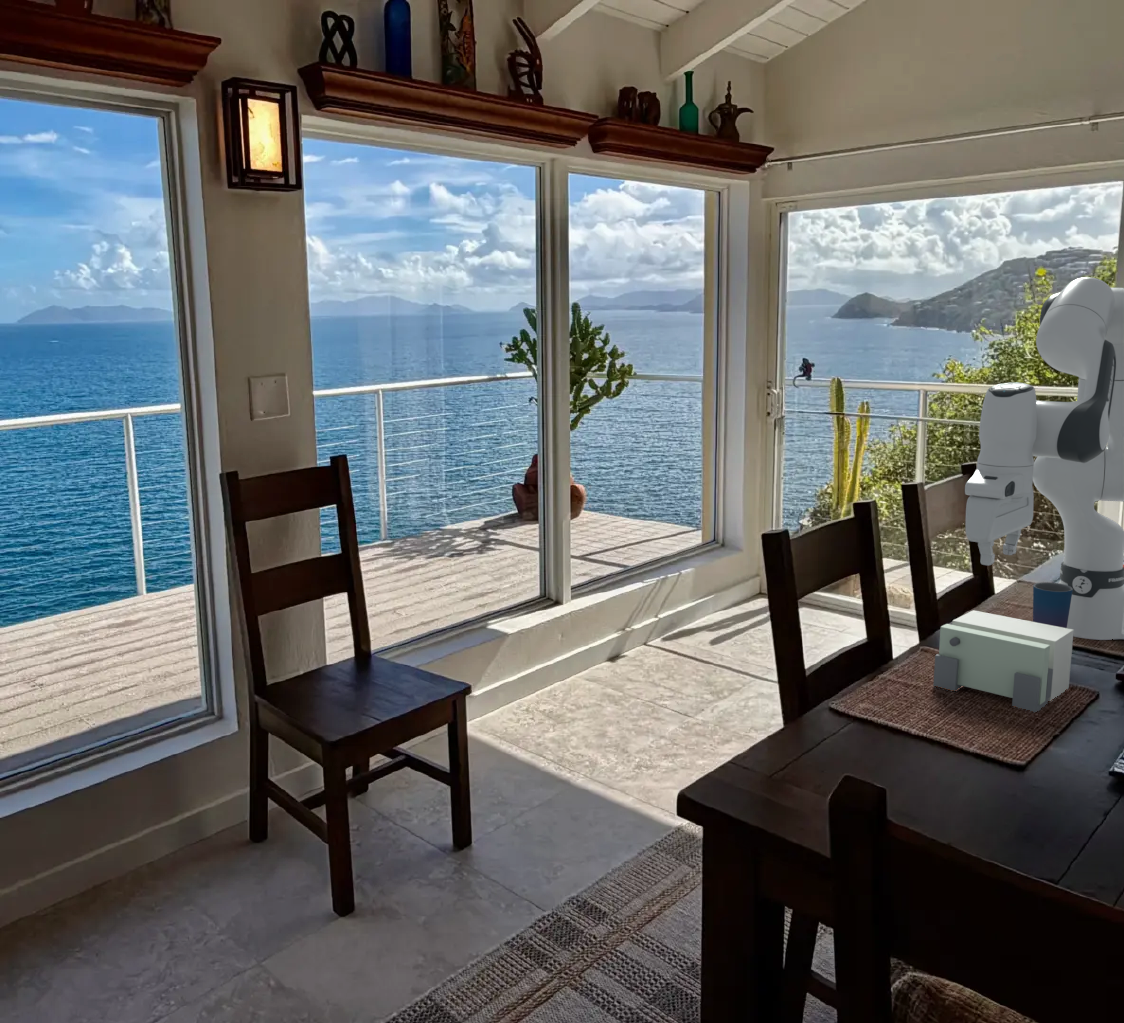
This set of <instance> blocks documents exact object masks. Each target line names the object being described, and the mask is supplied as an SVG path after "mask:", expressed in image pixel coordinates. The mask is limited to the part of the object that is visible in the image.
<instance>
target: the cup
mask: <svg viewBox="0 0 1124 1023" xmlns="http://www.w3.org/2000/svg"><path fill="white" fill-rule="evenodd" d="M1032 589H1033V591H1032V622H1037V623H1042V624H1047V625H1052V626H1057V627H1063V628H1067V623H1068V617H1069V610H1070V604H1071V597H1072V591H1073V588H1072V587H1070V586H1068V585H1064V584H1059V582H1048V581H1047V582H1044V581H1043V582H1036V583H1034V584H1033V586H1032Z"/></svg>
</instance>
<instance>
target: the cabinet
mask: <svg viewBox="0 0 1124 1023" xmlns="http://www.w3.org/2000/svg"><path fill="white" fill-rule="evenodd" d="M951 625H955V626H960V627H965V628H970V629H975V630H980V631H984V632H989V633H994V634H999V635H1004V636H1009V637H1013V638H1018V639H1023V640H1028V641H1033V642H1038V643H1043V644H1047V645H1050V652H1049V664H1048V676H1047V688H1046V700H1045V702H1043V703H1042V704H1040V705H1039V692H1040V680H1041V678H1039V677H1035V676H1031V675H1026V674H1022V673H1018V672H1016V673H1015V674H1014V687H1013V698H1012V701H1011V702H1012V703H1011V707H1012V706H1016V707H1018V708H1017V709H1019V708H1022V709H1021V710H1023V709H1026V710H1025V711H1027V710H1030V711H1029V712H1031V711H1033V712H1032V713H1035V712H1037V711H1038V712H1039V711H1041V710H1042V709H1043V708H1044V707H1046V706H1047V705H1048V701H1051V700H1052V699H1054V698H1055V697H1056V698H1058V697H1059V696H1061V695H1062V694H1064V692H1065V690H1066V689H1067V690H1068V689H1069V688H1070V678H1071V666H1072V665H1071V664H1072V653H1073V642H1074V641H1073V640H1074V636H1073V632H1074V630H1073V629H1068V628H1063V627H1057V626H1052V625H1047V624H1042V623H1037V622H1033V620H1032V621H1031V620H1026V619H1020V618H1015V617H1010V616H1005V615H1000V614H995V613H990V612H989V613H988V612H985V611H979V610H974V609H973V610H971V611H969V612H967V613H965V614H963V615H961V616H959V617H957V618H954V619H953V620H952V624H951ZM958 666H959V659H956V658H952V657H948V656H943V655H939V653H937V654H935V655H934V666H933V667H934V668H933V669H934V671H933V686H938V687H942V688H946V689H950V690H954V691H955V690H957V689H958V688H960V687H961V686H962V685H957V682H958ZM933 686H932V687H933ZM1067 690H1066V691H1067ZM1061 693H1062V694H1061ZM1057 696H1058V697H1057ZM1056 698H1055V699H1056ZM1055 699H1054V700H1055ZM1052 701H1053V700H1052ZM1052 701H1051V702H1052ZM1046 704H1047V705H1046ZM1045 705H1046V706H1045ZM1042 707H1043V708H1042ZM1041 708H1042V709H1041ZM1038 712H1037V713H1038Z"/></svg>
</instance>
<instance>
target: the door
mask: <svg viewBox="0 0 1124 1023" xmlns="http://www.w3.org/2000/svg"><path fill="white" fill-rule="evenodd" d="M939 630H940V631H939V645H938V646H939V648H938V654H939V655H943V656H948V657H952V658H956V659H959V666H958V682H957V685H962V686H964V687H965V688H971V689H974V690H979V691H982V692H987V693H990V694H994V695H997V696H998V695H999V696H1002V697H1003V696H1004V697H1007V698H1011V699H1013V687H1014V674H1015V673H1016V672H1018V673H1022V674H1026V675H1031V676H1035V677H1039V678H1041V680H1040V692H1039V705H1040V704H1042V703H1043V702H1045V700H1046V688H1047V676H1048V664H1049V652H1050V645H1047V644H1043V643H1038V642H1033V641H1028V640H1023V639H1018V638H1013V637H1009V636H1004V635H999V634H994V633H989V632H984V631H980V630H975V629H970V628H965V627H960V626H955V625H952V624H950V623H945V624H943V625H941V626H940V629H939Z"/></svg>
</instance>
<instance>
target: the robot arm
mask: <svg viewBox="0 0 1124 1023" xmlns="http://www.w3.org/2000/svg"><path fill="white" fill-rule="evenodd" d="M1035 344H1036V348H1037V352H1038V354H1039V355H1040V357H1041V359H1042V360H1043V361H1044V362H1045V363H1046V364H1047V365H1048V366H1050V367H1051V368H1053V369H1055V370H1056V371H1059V372H1061V373H1064V374H1068V375H1071V376H1072V375H1073V376H1075V377H1078V384H1077V385H1078V386H1077V394H1076V395H1077V397H1076V400H1074V401H1049V400H1039V399H1038V400H1037V395H1036V394H1037V393H1036V389H1035V386H1033V385H1032V384H1028V383H1025V382H1005V383H998V384H995V385H992V386H991V387H989V388H988V389H987V390H986V392H985V396H984V397H983V398H984V399H983V404H982V408H981V414H980V421H979V430H978V431H979V432H978V439H979V442H980V443H979V444H980V449H979V450H980V451H979V454H978V457H977V460H976V461H977V464H976V469H974V470H975V471H974V472H973V475H972V476H971V477H970V478H969V479H968V480H967V481H966V482H965V486H964V494H965V495H967V496H969V497H968V498H967V500H966V506H965V507H966V508H965V535H966V538H967V540H968V541H969V542H973V543H974V542H975V543H977V546H978V549H979V550H978V551H979V554H980V564H981V565H983V566H992V565H993V564H994V563H995V556H996V555H995V553H994V550H993V546H994V545H995V541H996V540H998V539H1000V538H1003V537H1005V542H1004V543H1003V545H1002V553H1003V555H1006V556H1007V555H1008V556H1013V555H1016V553H1017V548H1018V547H1017V545H1018V544H1019V543H1018V542H1019V540H1020V538H1021V534H1022V529H1023V528H1026V527H1029V526H1031V524H1032V523H1033V519H1034V498H1035V497H1034V496H1035V495H1034V488H1033V485H1034V486H1035V489H1037V491H1038V492H1039V493H1040V494H1041V495H1042V496H1044V497H1045V498H1046V499H1047V500H1049V501H1050V502H1051V503H1052V505H1053V506H1054V507H1055V508H1056V510H1057V512H1058V513H1059V516H1060V518H1061V522H1062V524H1063V529H1064V531H1063V532H1064V550H1063V551H1064V554H1063V561H1062V562H1061V563H1060V567H1059V579H1060V580H1059V582H1058V583H1059V584H1064V585H1068V586H1070V587H1072V588H1073V591H1072V597H1071V604H1070V610H1069V617H1068V623H1067V628H1068V629H1073V630H1074V632H1073V638H1079V639H1087V640H1088V639H1089V640H1095V641H1096V640H1097V641H1098V640H1099V641H1108V640H1109V641H1110V640H1112V639H1113V640H1124V529H1123V527H1122V526H1121V525H1120V524H1119V523H1118V522H1116V521H1114V520H1113V519H1111V518H1109V517H1107V516H1106V515H1103V514H1101V513H1099V512H1098V511H1097V510H1096V509H1095V503H1096V502H1099V501H1108V502H1121V503H1122V502H1124V287H1110V285H1108V284H1107V283H1106V281H1104V280H1102V279H1099V278H1095V277H1092V276H1091V277H1089V276H1088V277H1079V278H1076V279H1074V280H1072V281H1070V282H1069V283H1067V285H1065V286H1064V287H1063V289H1062V290H1061V291H1060V292H1057V293H1053V294H1052V295H1050V296H1049V297H1048V298H1047V299H1046V300H1044V302H1043V303H1042V306H1041V309H1040V315H1039V327H1038V330H1037V333H1036V340H1035ZM1034 457H1036V458H1035V459H1034ZM1113 640H1112V641H1113Z"/></svg>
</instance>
